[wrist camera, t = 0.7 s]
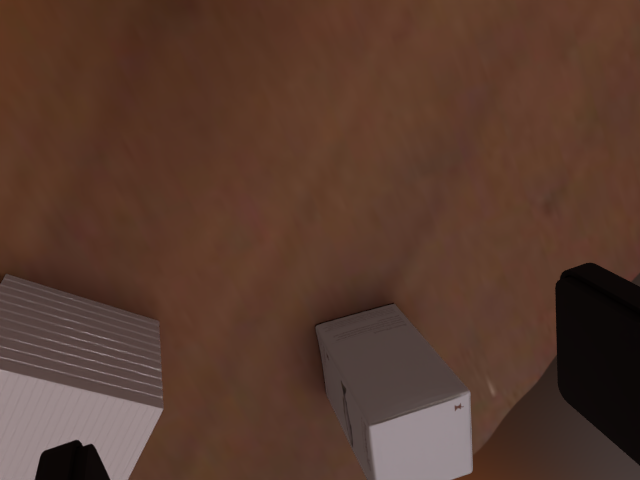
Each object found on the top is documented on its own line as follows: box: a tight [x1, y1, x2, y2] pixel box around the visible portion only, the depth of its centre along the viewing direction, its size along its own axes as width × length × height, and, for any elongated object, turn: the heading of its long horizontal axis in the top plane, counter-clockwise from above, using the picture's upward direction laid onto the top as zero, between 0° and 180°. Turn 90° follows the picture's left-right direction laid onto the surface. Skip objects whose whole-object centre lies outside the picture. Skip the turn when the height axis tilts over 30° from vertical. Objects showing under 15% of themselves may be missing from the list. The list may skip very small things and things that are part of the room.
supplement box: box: [315, 304, 473, 480], centre depth 42 cm, size 7×7×13 cm
